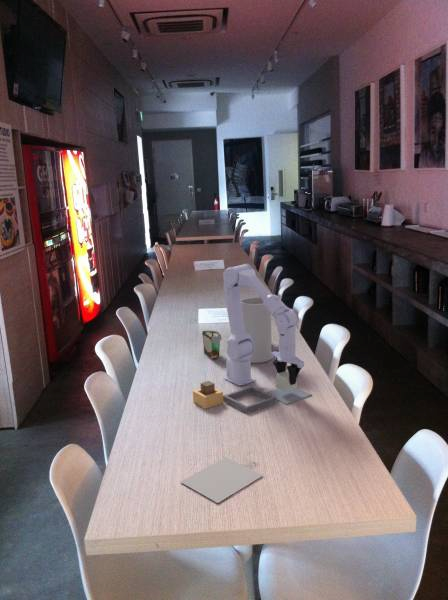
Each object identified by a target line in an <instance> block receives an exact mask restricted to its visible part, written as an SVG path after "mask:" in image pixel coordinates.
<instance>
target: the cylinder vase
mask: <svg viewBox="0 0 448 600" xmlns="http://www.w3.org/2000/svg"><path fill="white" fill-rule="evenodd" d="M240 300H241V306H242V312H243V318H244V324H245V330H246V332H247V333H248V334H249V335H251V339H252V341H253V343H254V346H255V350H254V352H253V353H252V357H251V364H261V363H266V362H269V361H270V360H271V359H272V358H271V352H273V351H272V315H271V314H270V312H269V311H268V310H267V309H266V308H265V307H264V306H263V300H262V299H261V298H260V297H259V296H257V297H256V296H254V297H251V296H250V297H246V298H242V299H240Z"/></svg>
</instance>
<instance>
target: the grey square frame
mask: <svg viewBox="0 0 448 600" xmlns="http://www.w3.org/2000/svg"><path fill="white" fill-rule="evenodd" d="M266 392H267V391H264V390H262V389H259V388H258V387H255V386H253V385H251V386H248V387H246V388H242V389H239V390H236V391H233V392H230V393H227V394H223V403H225V404H227V405H230V406H232V407H234V408H236V409H238V410H239V411H241V412H243V413H245V414H249V413H252V412H254V411H257V410H259V408H260V409H262V407H263V408H265V406H266V407H268V406H270V405H274V404H276V403H277V400H276V397H275V396H272V395H270V394H268V393H266ZM250 394H253V395H255V396H257V397H259V398H262V399H263V400H259V401H257V402H255V403H251V404H248V405H246V404H244V403H242V402H240V401H239V400H236V399H239V398H241V397H243V396H246V395H250Z"/></svg>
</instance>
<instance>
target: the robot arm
mask: <svg viewBox="0 0 448 600" xmlns="http://www.w3.org/2000/svg"><path fill="white" fill-rule="evenodd" d="M222 279H223V288H222V289H223V294H224V298H225V299H224V300H225V306H226V311H227V318H228V322H229V328H230V336H229V337H228V339H227V340H226V344H227V346H226V354H227V357H228V358H227V360H226V362H225V363H226V364H225V367H226V368H225V369H226V376H225V377H224V380H227V381H229V382H231V383H232V384H235V385H237V386H239V387H241V386H243V385H247V384H250V383H253V382H255V381H256V380H257V379H256V378H254V377H252V367H251V364H252V363H251V357H252V353H253V352H254V350H255V346H254V343H253V341H252V339H251V335H249V334H248V333H247V332H246V330H245V324H244V318H243V312H242V306H241V300H242V299H241V295H240V291H241V289H242V288H243V287H248V288H250V289H251V290H252V292H254V293H255V294H256V296H257V297H260V298H261V299H262V300H263V306H264V307H265V308H266V309H267V310H268V311H269V312H270V314H271V317H272V318H274V324H275V326H276V327H277V332H278V351H276V350H275V351H272V352H271V359H274V360H273V361H272V364H273V366H274V367H275V370H276V374H278V373H281V372H284V371H288V373H289V381H290V385H293V384H296V380H298V376H299V374H300V371H301V370H302V368H304V367H305V361H303V360H301V359H300V358H299V357H297V356H296V325H297V324H298V323H299V320H300V317H299V315H298V312H297V311H296V310H295V309H293V308H289V307H288V306H287V305H286V304H285V302H283V301H282V300H281V299H280V296H278V295H276V294H271V293H270V291H269V290H268V289H267V288H266V286H265V285H264V284H263V283H262V281H261V280H260V278H258V276H257V274H256V270H255V269H254V268H253V267H252V266H251V265H250V264H249V263H244V264H243V263H242V264H240V265H236V266H229V267H227V268H226V269H225V270H224V271H223V273H222ZM288 364H290V365H288ZM286 369H287V370H286Z"/></svg>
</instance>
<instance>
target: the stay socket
mask: <svg viewBox="0 0 448 600" xmlns="http://www.w3.org/2000/svg"><path fill="white" fill-rule="evenodd" d="M223 395H224V392H223V391H221V390H220V389H218V388H216V387H215V393H213V394H209V395H204V394H202V393H201V388H198V389H195V390H193V391H192V401H193V403H195V404H196V405H199V406H200V407H202V408H203V409H209V408H211V407H215V406H218V405H220V404H223V403H224V401H223Z"/></svg>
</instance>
